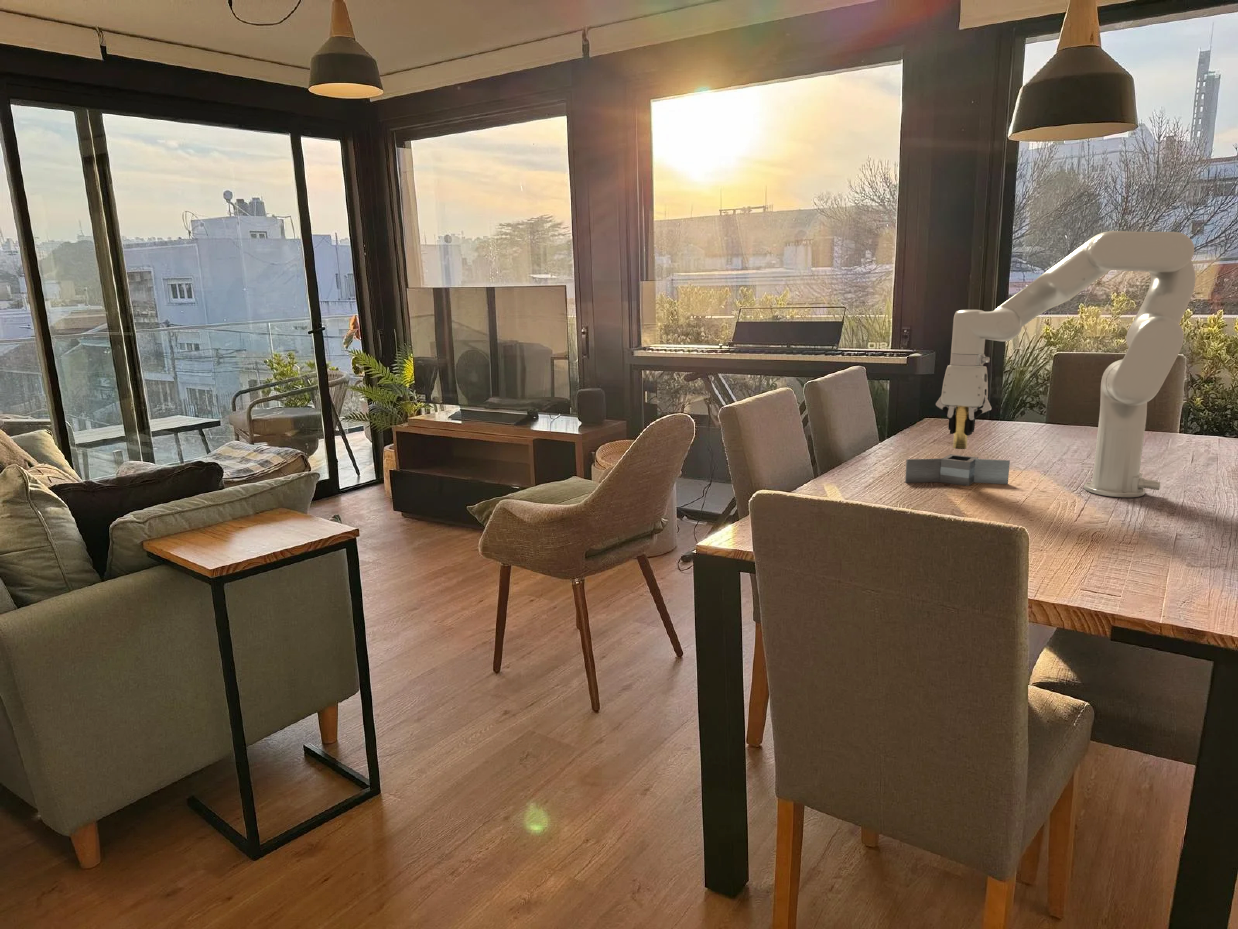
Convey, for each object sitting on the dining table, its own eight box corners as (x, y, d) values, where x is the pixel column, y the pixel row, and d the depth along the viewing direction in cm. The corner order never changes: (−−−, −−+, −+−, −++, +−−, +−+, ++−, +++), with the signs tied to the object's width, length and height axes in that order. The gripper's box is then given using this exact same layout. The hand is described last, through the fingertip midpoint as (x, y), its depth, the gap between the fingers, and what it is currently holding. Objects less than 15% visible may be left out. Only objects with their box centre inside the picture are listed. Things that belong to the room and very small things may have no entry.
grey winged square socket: (1008, 483, 210) (1010, 460, 209) (993, 494, 200) (995, 470, 199) (922, 472, 223) (923, 450, 222) (904, 482, 213) (905, 459, 212)
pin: (968, 447, 212) (972, 400, 209) (964, 449, 209) (968, 402, 207) (955, 446, 214) (958, 399, 211) (951, 448, 211) (954, 400, 209)
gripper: (1006, 361, 205) (999, 435, 209) (938, 357, 215) (933, 428, 219) (997, 364, 199) (990, 440, 203) (928, 360, 209) (922, 432, 213)
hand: (960, 433), depth 211 cm, fingers closed on pin, 3 cm apart
